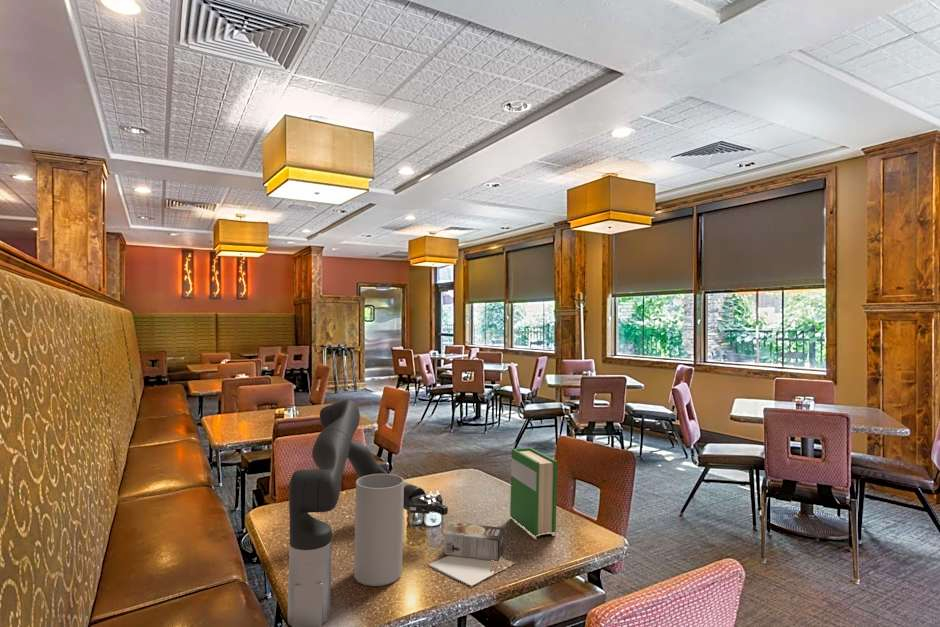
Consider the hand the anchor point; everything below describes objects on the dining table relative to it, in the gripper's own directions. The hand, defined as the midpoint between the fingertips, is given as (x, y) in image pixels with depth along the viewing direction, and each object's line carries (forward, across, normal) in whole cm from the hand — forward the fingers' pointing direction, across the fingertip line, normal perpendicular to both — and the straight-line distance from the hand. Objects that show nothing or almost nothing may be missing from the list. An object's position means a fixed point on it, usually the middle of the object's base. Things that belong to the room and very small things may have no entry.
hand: (445, 511), depth 153 cm
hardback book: (+7, +33, +12) cm, 36 cm away
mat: (+11, 0, +12) cm, 16 cm away
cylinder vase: (-3, -22, +12) cm, 25 cm away
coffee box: (0, +1, +8) cm, 8 cm away
